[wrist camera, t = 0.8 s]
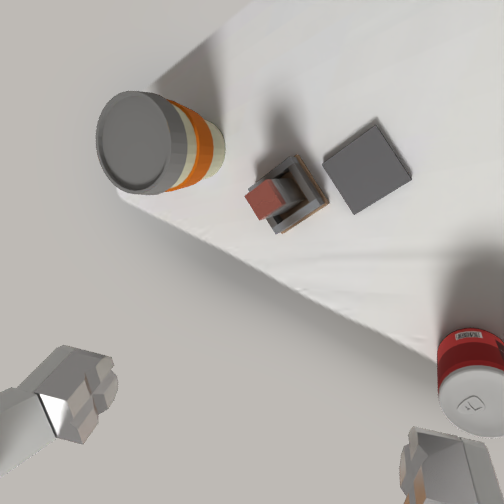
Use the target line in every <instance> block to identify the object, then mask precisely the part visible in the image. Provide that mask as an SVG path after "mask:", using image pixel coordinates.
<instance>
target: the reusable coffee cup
mask: <svg viewBox="0 0 504 504" xmlns="http://www.w3.org/2000/svg"><path fill="white" fill-rule="evenodd" d="M96 148H97V155H98V158H99V161H100V164H101V167H102V169H103V171H104V173H105V174H106V176H107V177H108V178H109V180H110V181H111V182H112V183H113V184H114V185H115V186H116V187H118V188H119V189H120V190H122V191H125V192H127V193H131V194H141V195H157V194H160V193H163V192H169V191H174V190H177V189H181V188H184V187H188V186H191V185H194V184H196V183H197V182H199V181H200V180H202V179H206V178H209V177H211V176H213V175H214V174H216V173H217V172H218V171H219V169H220V168H221V166H222V164H223V161H224V158H225V142H224V138H223V136H222V134H221V132H220V131H219V129H218V128H217V127H216V126H215V125H214V124H212V123H211V122H209V121H207V120H205V119H203V118H202V117H201V116H200V115H199V114H198V113H196V112H194V111H193V110H191V109H189V108H187V107H185V106H183V105H180V104H178V103H176V102H174V101H171V100H168V99H165V98H163V97H162V96H160V95H157V94H154V93H148V92H139V91H126V92H122V93H119V94H118V95H116V96H114V97H113V98H112V99H111V100H110V101H109V102H108V103H107V104H106V106H105V107H104V109H103V110H102V113H101V115H100V117H99V120H98V124H97V130H96Z"/></svg>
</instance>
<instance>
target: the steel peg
mask: <svg viewBox="0 0 504 504" xmlns="http://www.w3.org/2000/svg"><path fill="white" fill-rule="evenodd" d="M245 198H246V199H247V201H248V203H249V204H250V206H251V207H252V209H253V211H254V212H255V214H256V216H257V217H258V219H259V220H263V219H266V218H269V217H273V216H276V215H280V214H283V213H286V212H287V211H289V210H290V209H292V208H293V207H295V206H296V205H298V204H299V203H301V202H302V201H303V200H305V198H304V196H303V194H302V193H301V191H300V190H299V188H298V186H297V185H296V183H295V182H294V180H293V179H292V178H282V179H266V180H265V181H264V182H262V183H261V184H260V185H258V186H257V187H256V188H254V189H253V190H252V191H251V192H249V193H248V194H247V195H245Z"/></svg>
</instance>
